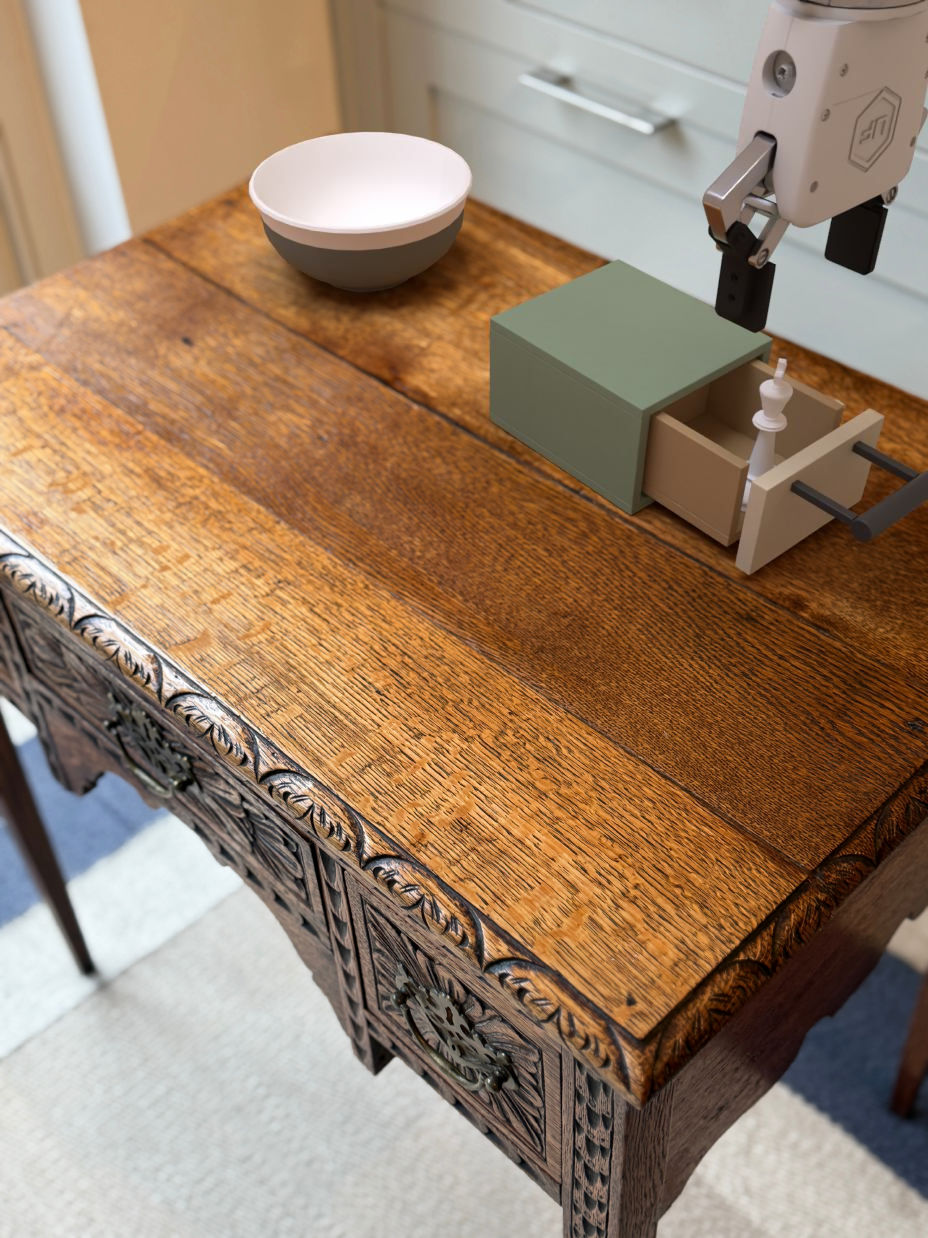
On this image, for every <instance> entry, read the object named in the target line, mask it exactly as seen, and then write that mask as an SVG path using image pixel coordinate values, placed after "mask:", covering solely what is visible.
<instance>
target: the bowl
mask: <svg viewBox="0 0 928 1238" xmlns="http://www.w3.org/2000/svg"><path fill="white" fill-rule="evenodd" d="M473 180H474V176H473V174H472V170H471V168H470V166H469V165H468V163H467V162H466V160H465V159H464V158H463V157H462V156H461V155H460V154H458V153H457V152H456V151H454V150H453V149H451V148H449V147H447V146H446V145H443V144H441V143H439V142H437V141H433V140H431V139H427V138H423V137H420V136H415V135H409V134H404V133H395V132H385V131H362V132H361V131H359V132H345V133H344V132H343V133H337V134H330V135H323V136H320V137H319V136H318V137H315V138H311V139H307V140H304V141H300V142H298V143H295V144H292V145H289V146H287V147H285V148H283V149H280V150H279V151H277V152H274V153H273V154H272V155H270V156H269V157H268V158H265V160H263V161H262V162H261V163H260V164H259V165H258V166H257V167H256V169H255V170H254V171H253V173H252V175H251V177H250V180H249V182H248V195H249V197H250V199H251V201H252V203H253V205H254V206H255V207H256V209H257V210H258V212H259V214H260V218H261V222H262V226H263V230H264V233H265V235H266V237H267V239H268V242H269V243H270V244H271V246H273V248H274V249H275V251H276V252H277V253H278V255H279V256H280V257H281V258H282V259H283V260H284V261H285V262H286V263H287V264H289V265H290V266H292V267H294V268H295V269H297V270H298V271H300V272H301V273H303V274H305V275H306V276H308V277H310V278H312V279H315V280H317V281H320V282H324V283H326V284H329V285H330V286H332V287H334V288H337V289H340V290H344V291H348V292H354V293H355V292H356V293H370V292H379V291H385V290H389V289H391V288H395V287H397V286H399V285H402V284H403V283H405V282H407V281H409V279H410V278H412V277H415V276H417V275H420V274H421V273H423V272H424V271H426V270H427V269H429V268H430V267H432V266H433V265H434V264H435V263H437V262H438V261H439V260H441V258H443V257H444V256H445V255H446V254H447V253H448V252H449V251H450V249H451V247H452V245H453V243H454V242H455V240H456V238H457V236H458V234H459V233H460V231H461V229H462V227H463V222H464V214H465V205H466V202H467V198H468V196H469V194H470V191H471V189H472V188H473Z"/></svg>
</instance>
